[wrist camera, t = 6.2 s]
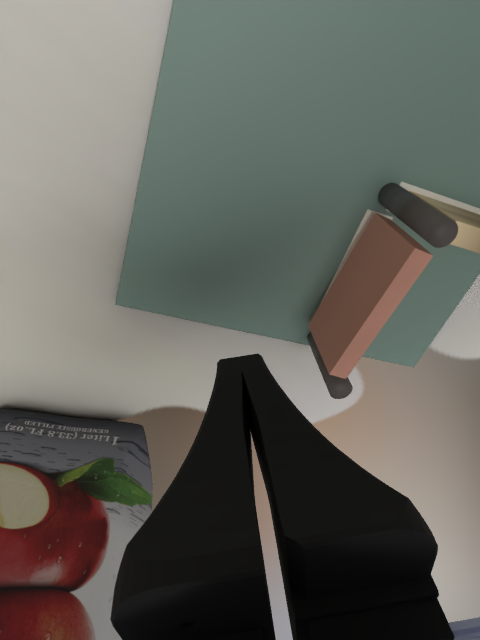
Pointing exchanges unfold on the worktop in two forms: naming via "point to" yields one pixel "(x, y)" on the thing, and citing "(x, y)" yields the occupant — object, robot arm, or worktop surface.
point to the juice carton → (66, 521)
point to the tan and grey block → (429, 223)
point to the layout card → (303, 159)
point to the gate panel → (366, 293)
